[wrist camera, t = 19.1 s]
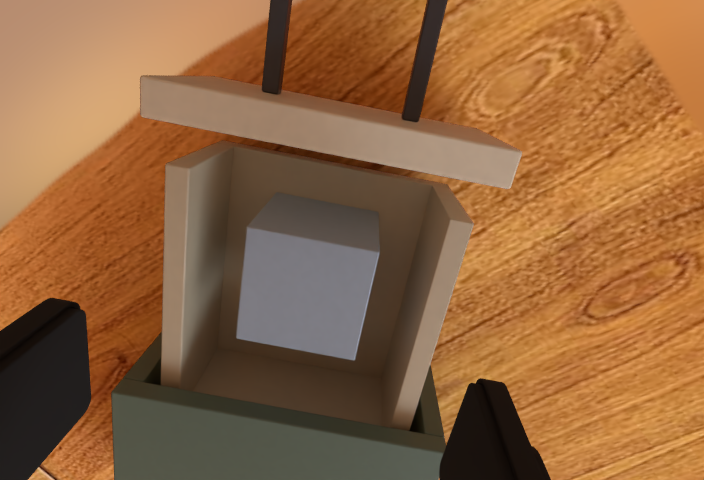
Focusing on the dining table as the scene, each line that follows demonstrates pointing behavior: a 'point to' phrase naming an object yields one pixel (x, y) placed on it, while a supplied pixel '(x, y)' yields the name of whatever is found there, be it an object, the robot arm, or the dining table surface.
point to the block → (308, 275)
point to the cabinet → (259, 436)
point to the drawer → (325, 185)
